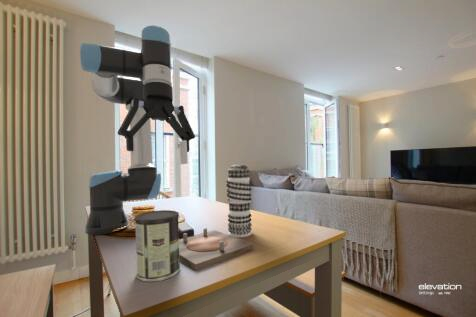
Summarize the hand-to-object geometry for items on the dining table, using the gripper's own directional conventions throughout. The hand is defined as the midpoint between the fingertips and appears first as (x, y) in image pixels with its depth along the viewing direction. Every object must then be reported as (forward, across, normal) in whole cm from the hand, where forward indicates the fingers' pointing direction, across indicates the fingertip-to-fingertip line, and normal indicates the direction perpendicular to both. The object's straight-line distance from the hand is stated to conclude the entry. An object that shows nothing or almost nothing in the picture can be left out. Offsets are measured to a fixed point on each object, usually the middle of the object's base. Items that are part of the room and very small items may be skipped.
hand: (161, 164), depth 64 cm
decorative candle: (+25, +32, +7) cm, 41 cm away
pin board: (+26, +15, +3) cm, 30 cm away
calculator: (+25, +11, +21) cm, 34 cm away
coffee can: (+27, -2, -1) cm, 27 cm away
